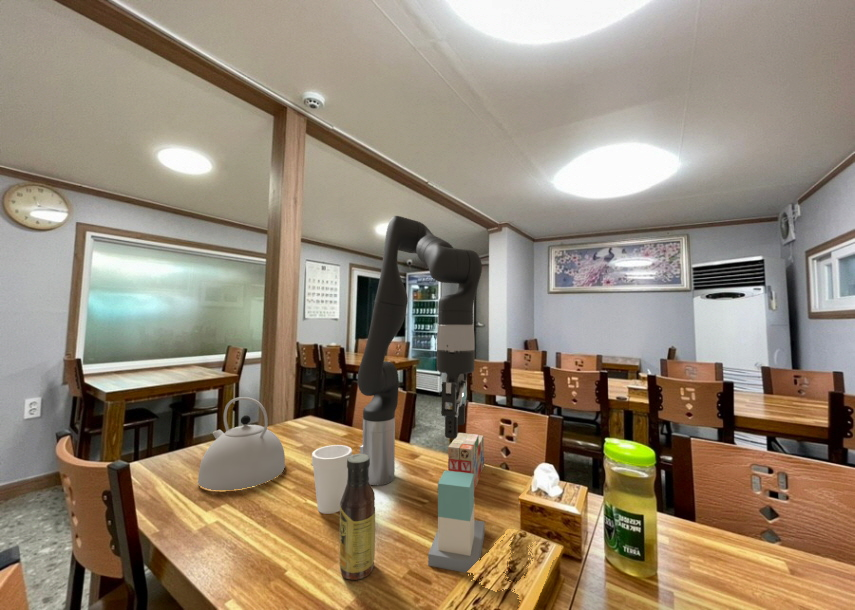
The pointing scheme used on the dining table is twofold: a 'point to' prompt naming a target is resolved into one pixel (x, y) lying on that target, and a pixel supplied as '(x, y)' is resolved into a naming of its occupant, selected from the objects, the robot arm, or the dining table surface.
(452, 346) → the robot arm
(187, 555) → the dining table surface
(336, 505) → the foam cup
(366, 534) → the sauce bottle
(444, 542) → the cream cube
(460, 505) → the teal cube
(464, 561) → the board
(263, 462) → the kettle
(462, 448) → the stack of blocks
